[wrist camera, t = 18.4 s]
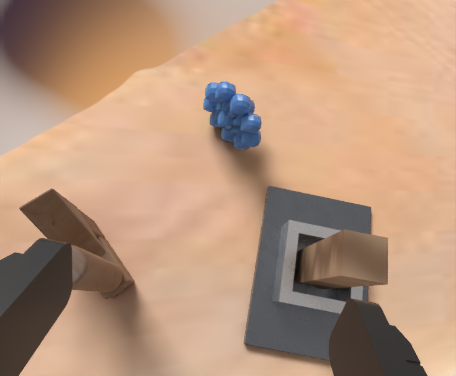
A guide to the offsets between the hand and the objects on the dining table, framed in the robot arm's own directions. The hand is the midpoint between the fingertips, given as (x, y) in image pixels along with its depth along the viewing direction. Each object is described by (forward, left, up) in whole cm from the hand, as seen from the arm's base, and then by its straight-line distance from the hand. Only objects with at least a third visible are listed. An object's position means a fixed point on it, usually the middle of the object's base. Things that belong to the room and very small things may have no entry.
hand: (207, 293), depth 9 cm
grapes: (+26, 0, -37) cm, 45 cm away
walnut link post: (+7, -15, -36) cm, 39 cm away
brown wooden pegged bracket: (+3, +14, -37) cm, 40 cm away
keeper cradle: (+7, -15, -37) cm, 40 cm away
